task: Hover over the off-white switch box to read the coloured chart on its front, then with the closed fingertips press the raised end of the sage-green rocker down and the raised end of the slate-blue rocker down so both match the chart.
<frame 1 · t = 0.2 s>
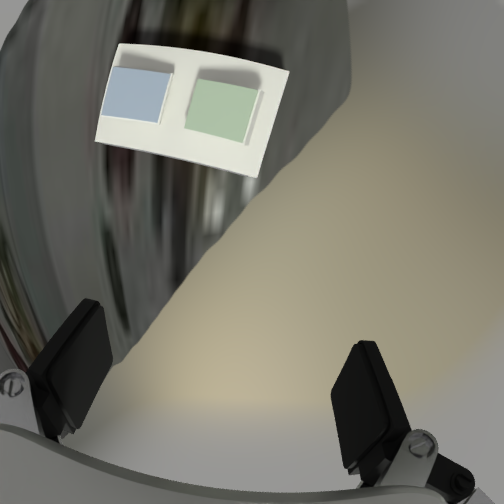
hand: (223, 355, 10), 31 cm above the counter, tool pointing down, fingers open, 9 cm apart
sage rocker: (222, 110, 28), point 7 cm above the counter, hinge at 14.0°
switch box: (192, 105, 34), on the counter
slate rocker: (136, 94, 27), point 7 cm above the counter, hinge at -14.0°
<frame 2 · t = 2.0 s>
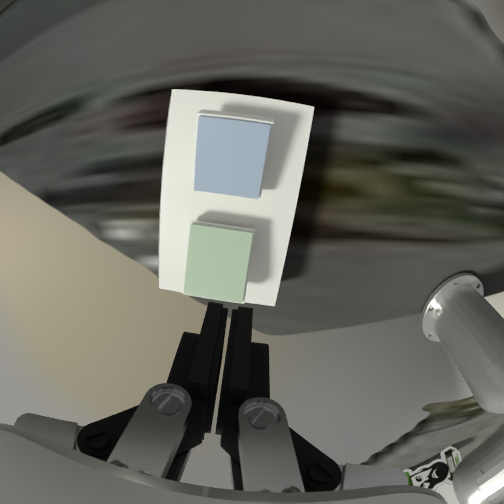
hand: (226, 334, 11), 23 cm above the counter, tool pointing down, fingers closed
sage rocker: (217, 262, 28), point 7 cm above the counter, hinge at 14.0°
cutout: (423, 460, 64), on the counter
switch box: (231, 193, 32), on the counter
slate rocker: (231, 154, 24), point 7 cm above the counter, hinge at -14.0°
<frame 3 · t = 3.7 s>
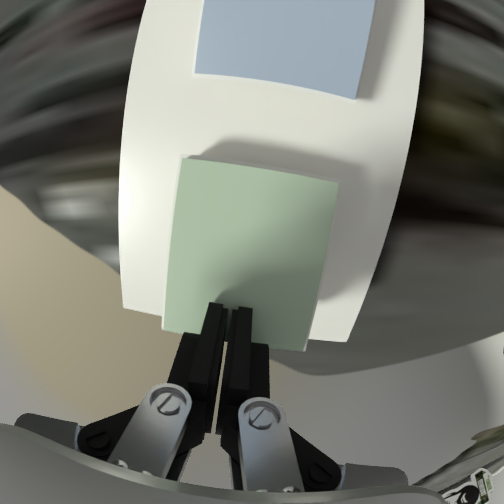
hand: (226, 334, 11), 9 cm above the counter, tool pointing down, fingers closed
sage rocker: (246, 255, 11), point 7 cm above the counter, hinge at 13.1°, touching gripper
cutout: (451, 484, 48), on the counter
switch box: (266, 126, 16), on the counter
slate rocker: (289, 2, 7), point 7 cm above the counter, hinge at -14.0°
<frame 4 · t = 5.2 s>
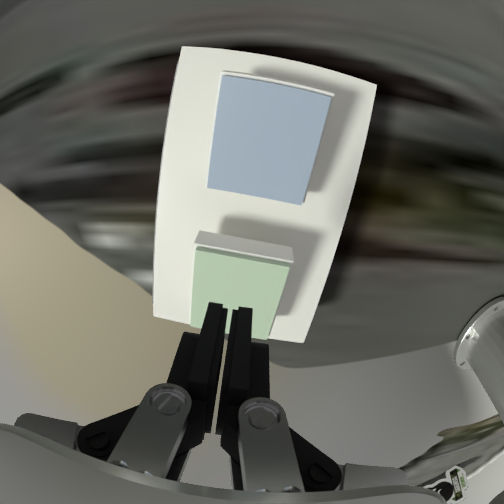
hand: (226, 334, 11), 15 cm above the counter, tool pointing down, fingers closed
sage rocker: (236, 290, 20), point 7 cm above the counter, hinge at -8.3°
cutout: (427, 480, 57), on the counter
switch box: (253, 194, 24), on the counter
slate rocker: (265, 138, 16), point 7 cm above the counter, hinge at -14.0°
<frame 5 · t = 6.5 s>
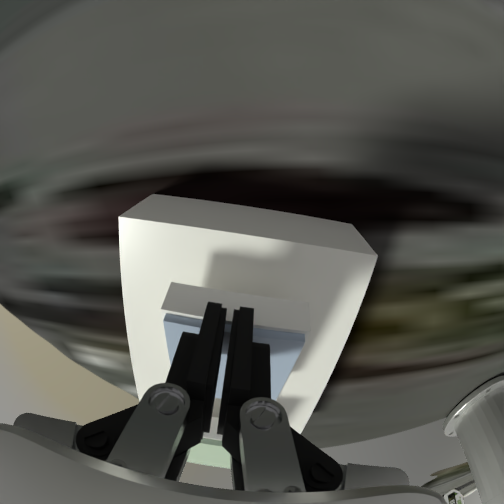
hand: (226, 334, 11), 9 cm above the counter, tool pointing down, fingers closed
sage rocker: (217, 445, 18), point 7 cm above the counter, hinge at -10.3°
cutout: (426, 502, 53), on the counter
switch box: (233, 337, 22), on the counter
slate rocker: (230, 355, 14), point 7 cm above the counter, hinge at -13.7°, touching gripper
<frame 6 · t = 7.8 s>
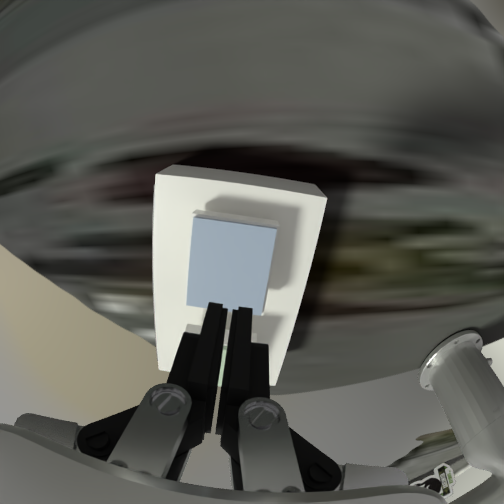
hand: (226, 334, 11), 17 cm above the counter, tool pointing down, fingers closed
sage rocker: (218, 360, 25), point 7 cm above the counter, hinge at -10.8°
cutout: (417, 476, 64), on the counter
switch box: (229, 275, 30), on the counter
slate rocker: (229, 264, 21), point 7 cm above the counter, hinge at 7.3°
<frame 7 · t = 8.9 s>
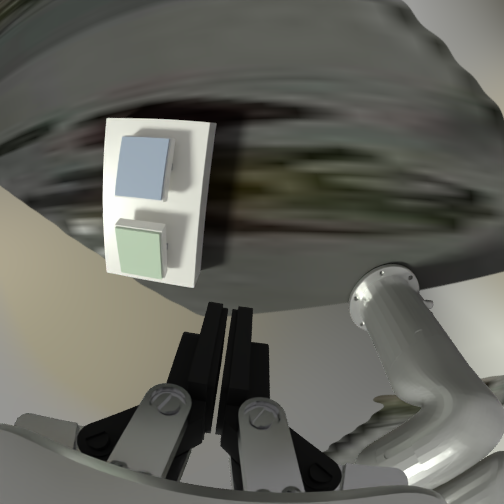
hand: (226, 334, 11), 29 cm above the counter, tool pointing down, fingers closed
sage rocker: (141, 249, 34), point 7 cm above the counter, hinge at -10.9°
switch box: (160, 195, 38), on the counter
slate rocker: (143, 167, 30), point 7 cm above the counter, hinge at 10.8°
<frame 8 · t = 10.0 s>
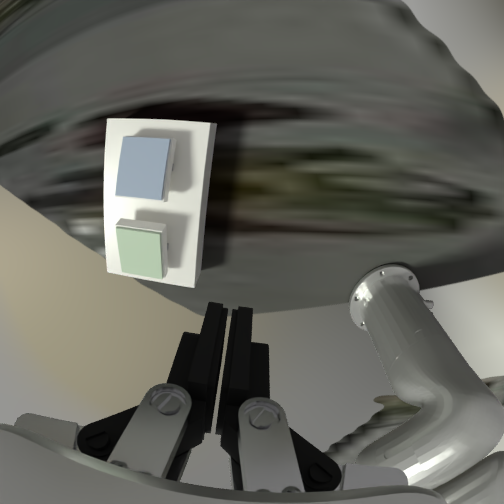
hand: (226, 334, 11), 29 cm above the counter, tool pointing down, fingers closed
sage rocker: (141, 249, 34), point 7 cm above the counter, hinge at -11.0°
switch box: (161, 195, 38), on the counter
slate rocker: (144, 167, 30), point 7 cm above the counter, hinge at 11.9°
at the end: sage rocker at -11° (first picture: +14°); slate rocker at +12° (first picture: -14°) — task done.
